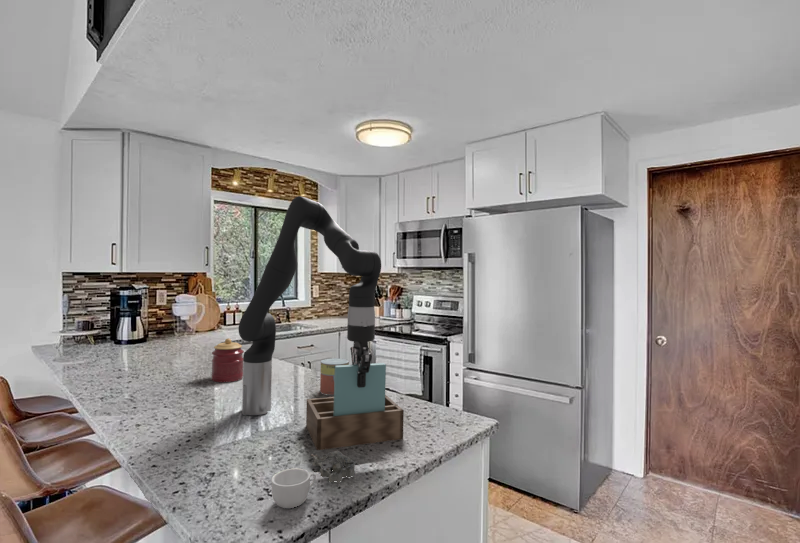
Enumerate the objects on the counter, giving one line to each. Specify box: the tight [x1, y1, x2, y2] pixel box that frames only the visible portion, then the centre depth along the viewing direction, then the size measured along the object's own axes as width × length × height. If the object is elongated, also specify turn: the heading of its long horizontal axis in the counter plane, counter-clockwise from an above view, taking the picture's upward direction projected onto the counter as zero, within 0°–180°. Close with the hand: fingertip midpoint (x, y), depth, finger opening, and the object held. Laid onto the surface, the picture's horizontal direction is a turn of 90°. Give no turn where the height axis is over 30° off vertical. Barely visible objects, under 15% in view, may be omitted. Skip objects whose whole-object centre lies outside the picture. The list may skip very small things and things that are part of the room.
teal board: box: [333, 362, 387, 416], centre depth 117 cm, size 14×2×20 cm, turn 111°
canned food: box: [319, 357, 350, 396], centre depth 170 cm, size 11×11×12 cm
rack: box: [305, 394, 405, 451], centre depth 123 cm, size 24×18×10 cm
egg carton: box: [310, 450, 358, 483], centre depth 102 cm, size 11×8×4 cm
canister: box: [210, 338, 245, 383], centre depth 185 cm, size 13×13×18 cm
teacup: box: [271, 467, 317, 509], centre depth 89 cm, size 10×8×5 cm
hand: (360, 385), depth 117 cm, fingers closed on teal board, 2 cm apart
